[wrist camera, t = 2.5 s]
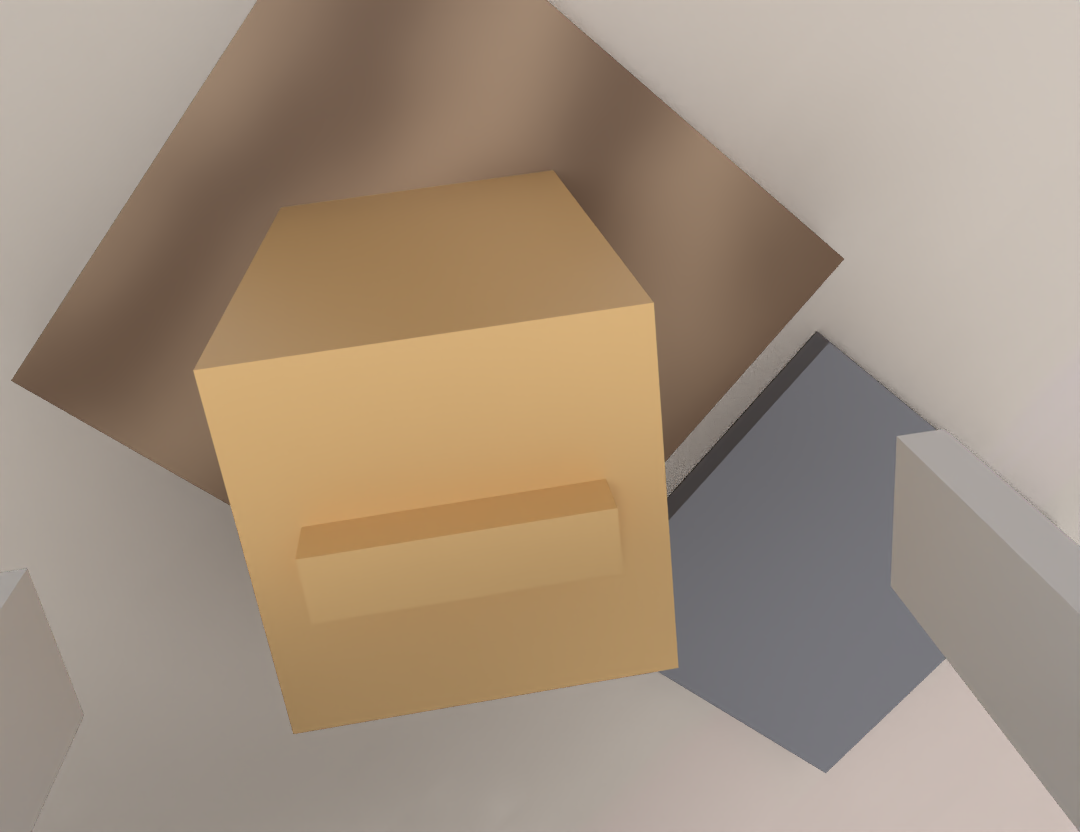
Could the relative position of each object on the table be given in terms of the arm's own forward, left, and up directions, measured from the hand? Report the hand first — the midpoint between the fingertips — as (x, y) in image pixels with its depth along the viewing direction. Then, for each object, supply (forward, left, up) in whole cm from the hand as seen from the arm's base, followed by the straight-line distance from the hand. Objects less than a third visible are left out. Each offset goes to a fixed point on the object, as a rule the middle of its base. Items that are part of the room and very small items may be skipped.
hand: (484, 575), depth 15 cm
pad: (+16, 0, -15) cm, 22 cm away
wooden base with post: (0, 0, -15) cm, 15 cm away
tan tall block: (0, 0, -13) cm, 13 cm away
